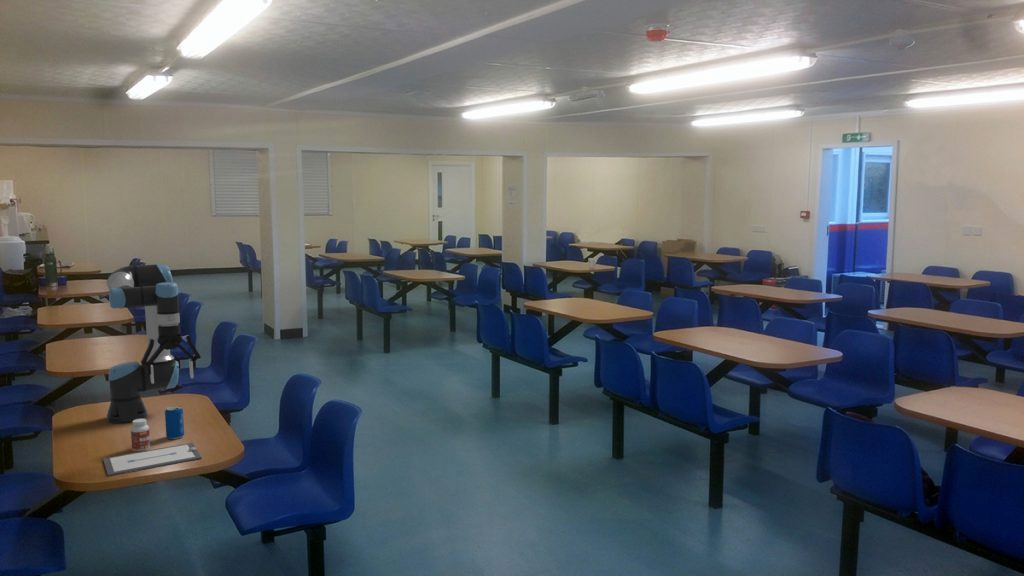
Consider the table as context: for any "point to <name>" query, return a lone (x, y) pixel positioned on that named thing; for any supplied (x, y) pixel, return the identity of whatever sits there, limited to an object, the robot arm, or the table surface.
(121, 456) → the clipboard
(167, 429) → the beverage can
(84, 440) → the table surface
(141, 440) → the pill bottle
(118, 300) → the robot arm
